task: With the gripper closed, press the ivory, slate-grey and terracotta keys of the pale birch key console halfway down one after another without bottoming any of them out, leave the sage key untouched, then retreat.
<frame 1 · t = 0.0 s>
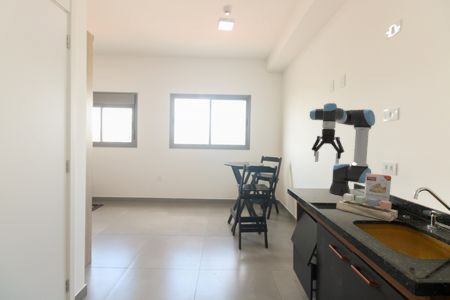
hand: (326, 162, 173), 28 cm above the worktop, fingers open, 13 cm apart
key console: (365, 212, 165), on the worktop
terracotta key: (385, 206, 156), point 6 cm above the worktop, slide at 0.0 cm
cracker box: (375, 206, 181), on the worktop
ivory key: (348, 199, 172), point 6 cm above the worktop, slide at 0.0 cm
sage key: (360, 201, 167), point 6 cm above the worktop, slide at 0.0 cm
slate key: (372, 204, 162), point 6 cm above the worktop, slide at 0.0 cm
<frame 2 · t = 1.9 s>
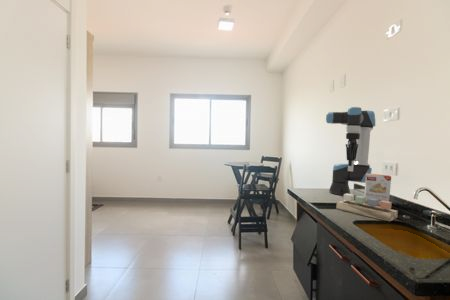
hand: (350, 171, 171), 24 cm above the worktop, fingers closed
nothing on the worktop moved.
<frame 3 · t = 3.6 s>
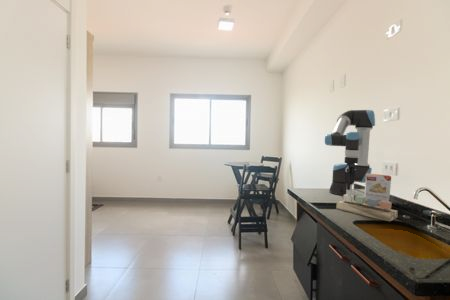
hand: (348, 194, 172), 9 cm above the worktop, fingers closed
ivory key: (348, 199, 172), point 6 cm above the worktop, slide at 0.4 cm, touching gripper
everything else where it was.
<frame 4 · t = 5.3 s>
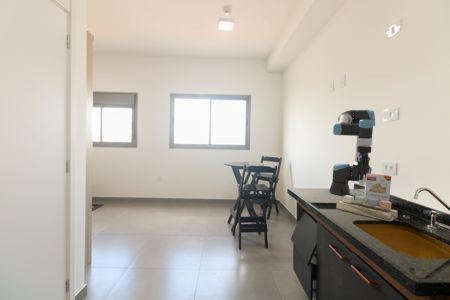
hand: (361, 185, 165), 16 cm above the worktop, fingers closed
ivory key: (348, 201, 172), point 5 cm above the worktop, slide at 1.1 cm
everything else where it was.
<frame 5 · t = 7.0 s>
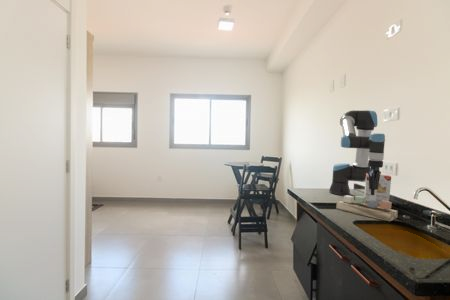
hand: (372, 200, 161), 8 cm above the worktop, fingers closed
slate key: (372, 205, 162), point 5 cm above the worktop, slide at 0.9 cm, touching gripper
everything else where it was.
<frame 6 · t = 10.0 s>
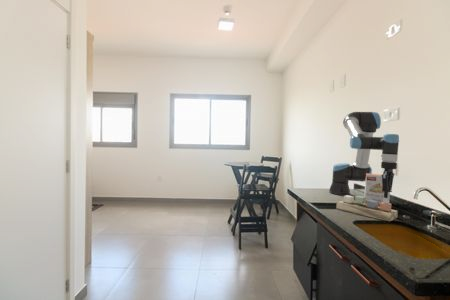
hand: (385, 203, 156), 8 cm above the worktop, fingers closed
terracotta key: (385, 208, 157), point 5 cm above the worktop, slide at 1.0 cm, touching gripper
slate key: (372, 206, 162), point 5 cm above the worktop, slide at 1.1 cm
everything else where it was.
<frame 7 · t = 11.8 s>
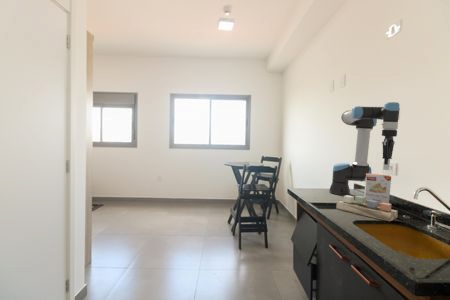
hand: (386, 169, 162), 26 cm above the worktop, fingers closed
terracotta key: (385, 208, 157), point 5 cm above the worktop, slide at 1.1 cm
everything else where it was.
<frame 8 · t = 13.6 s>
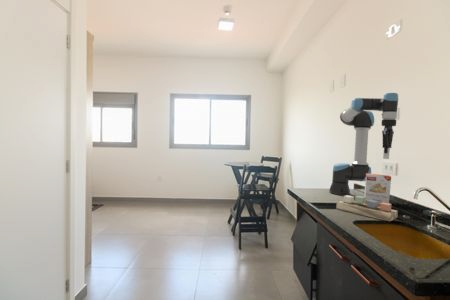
hand: (386, 158, 167), 32 cm above the worktop, fingers closed
nothing on the worktop moved.
at the end: ivory key slide at 1.1 cm; slate key slide at 1.1 cm; terracotta key slide at 1.1 cm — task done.
